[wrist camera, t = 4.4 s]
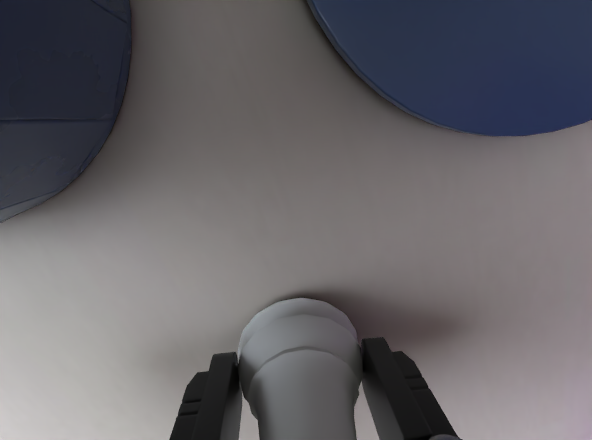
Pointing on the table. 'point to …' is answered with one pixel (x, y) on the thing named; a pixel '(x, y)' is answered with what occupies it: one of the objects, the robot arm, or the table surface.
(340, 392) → the rook chess piece
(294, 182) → the table surface
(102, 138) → the pot
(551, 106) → the lid
